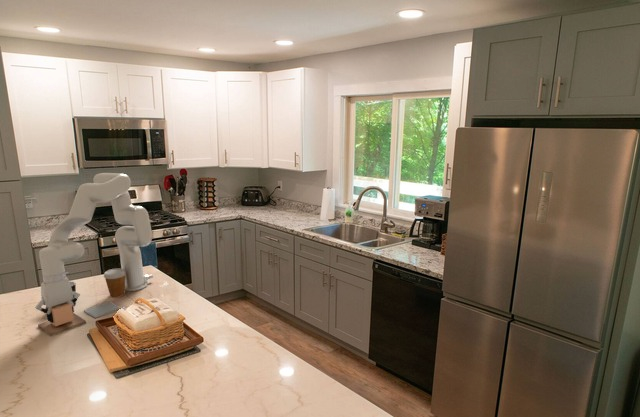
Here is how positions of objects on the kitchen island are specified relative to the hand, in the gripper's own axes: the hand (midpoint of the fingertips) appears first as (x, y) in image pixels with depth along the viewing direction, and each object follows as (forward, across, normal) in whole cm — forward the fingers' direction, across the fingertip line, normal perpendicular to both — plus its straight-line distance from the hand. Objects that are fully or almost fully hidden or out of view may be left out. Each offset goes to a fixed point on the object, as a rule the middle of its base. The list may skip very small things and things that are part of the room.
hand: (61, 317), depth 161 cm
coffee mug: (+3, -10, -19) cm, 22 cm away
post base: (+3, 0, 0) cm, 3 cm away
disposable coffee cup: (+3, -28, -11) cm, 30 cm away
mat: (+3, -16, 0) cm, 16 cm away
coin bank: (+1, 0, 0) cm, 1 cm away
